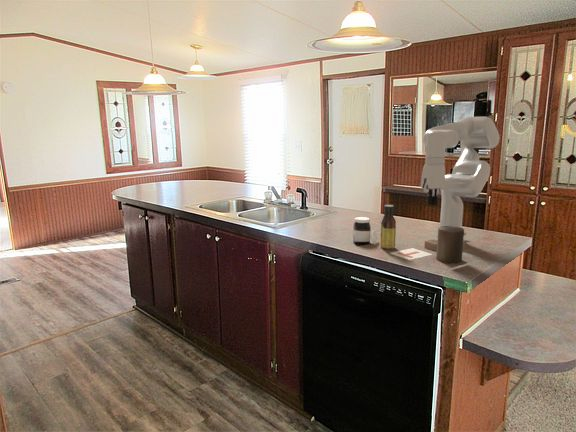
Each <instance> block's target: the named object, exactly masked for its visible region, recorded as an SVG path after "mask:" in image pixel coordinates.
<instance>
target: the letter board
mask: <svg viewBox="0 0 576 432" xmlns="http://www.w3.org/2000/svg"><path fill="white" fill-rule="evenodd" d="M389 254H390V255H392V256H395V257H398V258H402V259H405V260H408V261H411V260H415V259H420V258H423V257H427V256H432V255H433V253H430V252H427V251H423V250H420V249H417V248H414V247H411V248H406V249H402V250H397V251H393V252H389Z"/></svg>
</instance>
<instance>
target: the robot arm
mask: <svg viewBox="0 0 576 432" xmlns="http://www.w3.org/2000/svg"><path fill="white" fill-rule="evenodd" d="M422 138H423V139H422V141H423V145H425V161H424V162H425V163H424V165H423V167H422V173H421V178H420V179H421V180H420V187H421V189H423V191H422V192H425V193H426V194H427V196H428V197H427V198H428V199H427V205H429V206H437V205H438V196H439V193H440V192H441V194H440V195H441V204H440V207H441V208H440V218H439V227H441V226H451V225H452V226H455V227H460V228H463V217H464V216H463V215H464V203H463V202H464V201H463V200H462V198H461V196H462V197H470V198H475V197H478V196H479V195H480V194H481V192H482V191H483V188H484V187H485V185H486V183H487V182H488V180H489V178H490V175H491V174H490V173H491V165H490V163H488V161H485V160H480V155H479V153H478V152H477V150H475V149H494V148H496V147H497V146H498V145H499V143H500V133H499V131H498V128H497V126H496V125H495V122H494V121H493V120H492V119H491V118H490V117H489V116H466V117H464V118H461V119H459V120H457V121H455V122H450V123H446V124H442V125H437V126H433V127H431V128H428V129H427V130H426V131H425V132H424V135H423V137H422ZM459 142H460V156H459V158H458V159H457V161H456V162H455V164H454V166H453V169H452V171H451V173H447V174H446V166H445V161H446V159H445V157H446V149H453V148H455V147H456V146H457V145H458V144H459ZM466 235H467V232H466V231H465V230H464V237H465V236H466ZM434 239H435V240H437V239H438V236H435V238H434ZM464 243H465V238H464V239H463V244H464Z"/></svg>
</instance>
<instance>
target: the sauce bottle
mask: <svg viewBox="0 0 576 432" xmlns="http://www.w3.org/2000/svg"><path fill="white" fill-rule="evenodd" d="M383 209H384V214H383V218H382V221H381V222H380V223H381V224H380V249H382V250H387V251H392V250H395V248H396V232H397V230H396V229H397V226H396V225H397V224H396V222H397V220H396V219H395V217H394V209H395V205H394V204H384V207H383Z"/></svg>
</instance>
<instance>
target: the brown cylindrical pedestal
mask: <svg viewBox="0 0 576 432" xmlns="http://www.w3.org/2000/svg"><path fill="white" fill-rule="evenodd" d="M464 231H465V228H463V227H462V228H460V227H455V226H452V225H451V226H441V227H440V226H438V228H437V237H438V239H437V251H435V252H436V253H435V254H436V256H435V259H436V261H438V262H439V263H440V262H441V263H444V264H460V263H462V261H463V260H462V259H463V251H464V243H463V239H464V240H465V238H464V237H465V236H464Z"/></svg>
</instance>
